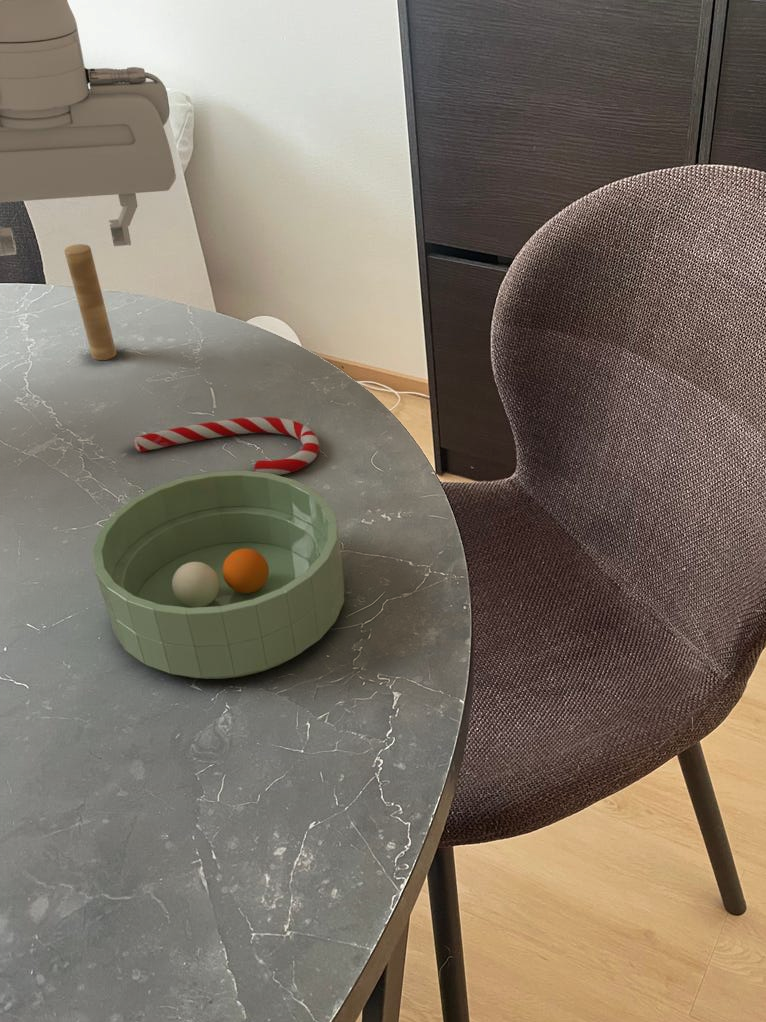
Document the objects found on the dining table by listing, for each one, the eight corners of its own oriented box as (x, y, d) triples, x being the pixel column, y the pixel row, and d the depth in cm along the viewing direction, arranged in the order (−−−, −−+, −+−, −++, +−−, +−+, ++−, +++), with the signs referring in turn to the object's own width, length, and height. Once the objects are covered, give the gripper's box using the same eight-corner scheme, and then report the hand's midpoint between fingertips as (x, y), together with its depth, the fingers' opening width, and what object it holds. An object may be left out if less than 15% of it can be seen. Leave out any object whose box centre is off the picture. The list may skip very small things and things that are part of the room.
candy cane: (140, 416, 86) (321, 413, 87) (143, 430, 87) (323, 426, 88) (120, 467, 81) (314, 463, 81) (124, 481, 81) (316, 477, 82)
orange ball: (225, 575, 71) (270, 577, 72) (220, 601, 69) (267, 603, 69) (224, 538, 69) (270, 541, 70) (219, 563, 67) (267, 566, 68)
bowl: (127, 712, 63) (104, 637, 59) (105, 566, 73) (83, 495, 69) (371, 654, 67) (364, 580, 63) (316, 523, 77) (307, 454, 73)
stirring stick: (93, 362, 96) (64, 254, 90) (91, 351, 98) (63, 245, 91) (117, 358, 97) (91, 251, 90) (115, 348, 98) (89, 242, 92)
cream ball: (198, 567, 70) (158, 576, 68) (216, 550, 68) (175, 559, 66) (214, 608, 70) (175, 618, 68) (233, 592, 68) (193, 602, 66)
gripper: (158, 56, 86) (183, 225, 95) (-114, 65, 80) (-60, 244, 90) (167, 76, 81) (192, 251, 91) (-120, 88, 76) (-62, 273, 85)
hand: (65, 248), depth 90 cm, fingers open, 8 cm apart
